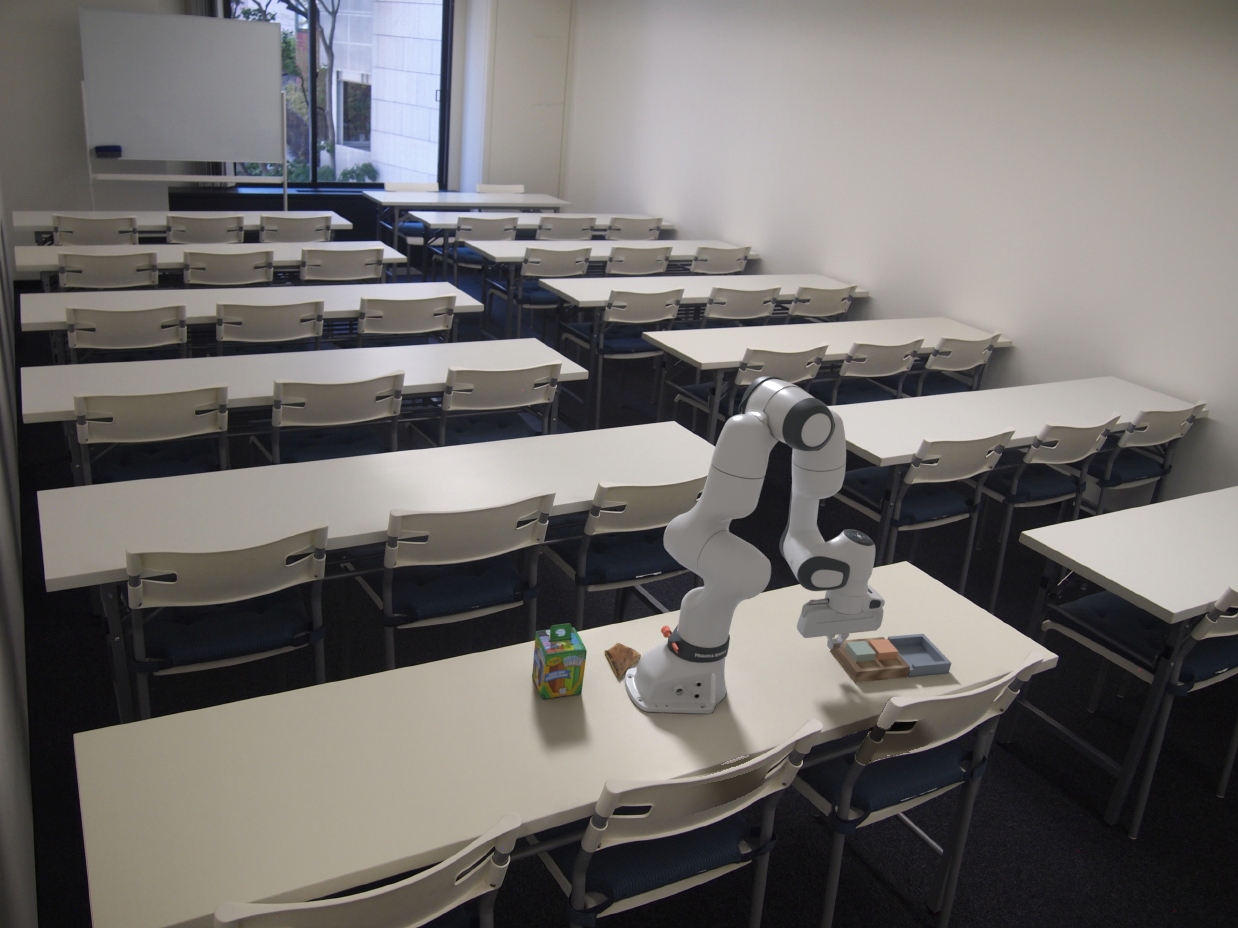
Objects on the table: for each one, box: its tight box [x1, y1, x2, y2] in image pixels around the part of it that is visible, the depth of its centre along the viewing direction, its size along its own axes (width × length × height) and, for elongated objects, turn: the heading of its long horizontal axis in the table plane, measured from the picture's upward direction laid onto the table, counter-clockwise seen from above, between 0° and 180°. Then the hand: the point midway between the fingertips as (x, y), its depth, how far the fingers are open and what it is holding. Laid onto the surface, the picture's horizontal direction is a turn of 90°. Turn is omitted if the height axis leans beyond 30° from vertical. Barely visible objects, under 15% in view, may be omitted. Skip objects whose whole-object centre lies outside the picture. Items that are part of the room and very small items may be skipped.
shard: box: [604, 642, 642, 680], centre depth 208 cm, size 11×8×2 cm
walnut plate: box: [829, 636, 910, 683], centre depth 217 cm, size 14×12×3 cm
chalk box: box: [531, 622, 588, 700], centre depth 196 cm, size 9×9×15 cm
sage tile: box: [845, 641, 876, 662], centre depth 215 cm, size 5×5×2 cm
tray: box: [887, 633, 952, 678], centre depth 221 cm, size 11×12×3 cm
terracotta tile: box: [868, 638, 898, 660], centre depth 217 cm, size 5×5×2 cm
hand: (834, 647), depth 213 cm, fingers closed
